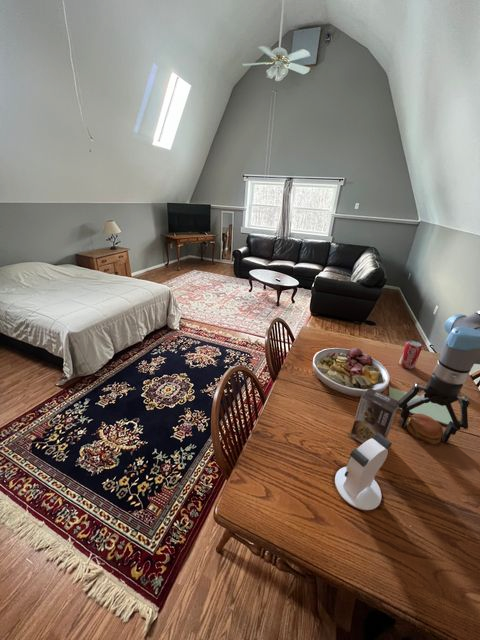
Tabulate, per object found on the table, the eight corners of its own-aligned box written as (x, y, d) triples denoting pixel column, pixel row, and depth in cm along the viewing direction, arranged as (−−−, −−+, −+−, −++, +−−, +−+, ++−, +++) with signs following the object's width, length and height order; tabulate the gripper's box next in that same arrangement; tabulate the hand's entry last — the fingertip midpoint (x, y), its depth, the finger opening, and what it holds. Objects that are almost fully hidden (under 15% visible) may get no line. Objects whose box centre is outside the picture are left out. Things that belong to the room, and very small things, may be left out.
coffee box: (386, 442, 84) (401, 402, 77) (378, 454, 79) (394, 413, 73) (357, 424, 89) (369, 386, 83) (348, 435, 85) (360, 395, 78)
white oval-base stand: (354, 459, 78) (366, 420, 71) (391, 493, 69) (410, 453, 63) (325, 479, 71) (337, 439, 65) (363, 519, 63) (380, 478, 57)
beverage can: (397, 366, 122) (406, 343, 117) (399, 360, 127) (407, 338, 122) (413, 371, 119) (422, 348, 114) (414, 365, 124) (423, 342, 119)
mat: (448, 405, 100) (448, 404, 100) (454, 427, 90) (455, 426, 90) (389, 387, 108) (389, 386, 108) (388, 406, 98) (389, 405, 98)
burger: (445, 447, 83) (451, 436, 81) (412, 441, 84) (417, 430, 82) (431, 423, 91) (436, 413, 90) (402, 418, 93) (406, 408, 91)
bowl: (381, 412, 95) (388, 395, 92) (301, 382, 109) (304, 366, 105) (389, 371, 118) (394, 356, 115) (322, 350, 132) (325, 336, 129)
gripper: (402, 371, 80) (382, 425, 89) (503, 399, 71) (469, 456, 80) (402, 359, 86) (383, 411, 95) (494, 383, 77) (464, 438, 86)
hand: (422, 432), depth 88 cm, fingers open, 11 cm apart
